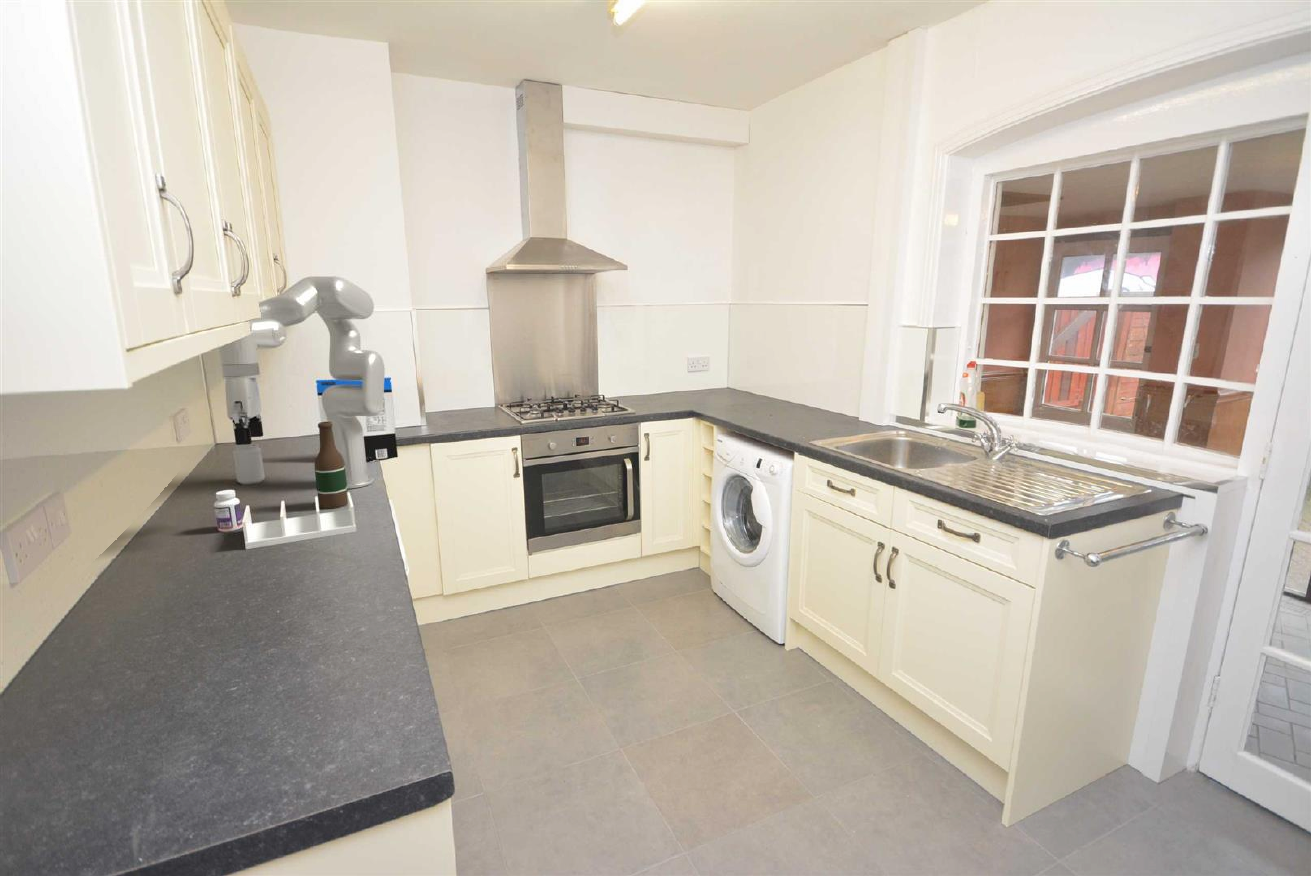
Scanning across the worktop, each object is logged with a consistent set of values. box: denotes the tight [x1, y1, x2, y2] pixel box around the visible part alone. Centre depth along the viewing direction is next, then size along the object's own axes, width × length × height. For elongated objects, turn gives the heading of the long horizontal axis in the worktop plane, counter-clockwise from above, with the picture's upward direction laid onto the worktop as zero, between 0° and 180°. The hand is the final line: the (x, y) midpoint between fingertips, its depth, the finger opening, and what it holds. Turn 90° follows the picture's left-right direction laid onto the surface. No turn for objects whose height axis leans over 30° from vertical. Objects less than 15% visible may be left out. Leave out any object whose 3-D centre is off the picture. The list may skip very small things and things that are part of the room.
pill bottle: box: [213, 489, 243, 533], centre depth 157 cm, size 5×5×10 cm
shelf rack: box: [242, 491, 357, 550], centre depth 156 cm, size 15×23×6 cm, turn 120°
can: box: [232, 443, 265, 485], centre depth 199 cm, size 8×8×12 cm
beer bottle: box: [314, 421, 349, 510], centre depth 174 cm, size 8×8×24 cm
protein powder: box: [315, 377, 399, 463], centre depth 225 cm, size 10×24×30 cm, turn 111°
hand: (250, 440), depth 153 cm, fingers open, 9 cm apart
